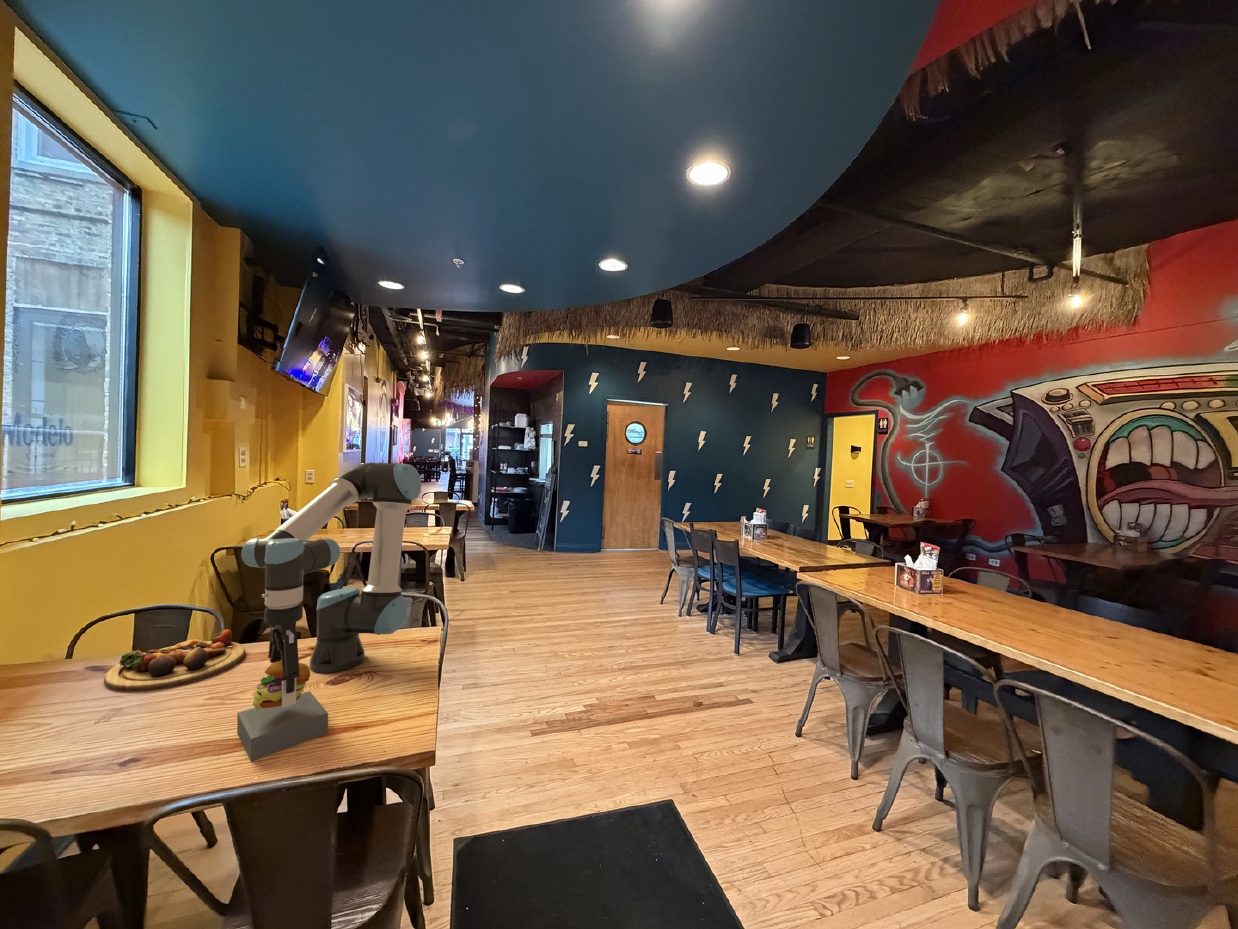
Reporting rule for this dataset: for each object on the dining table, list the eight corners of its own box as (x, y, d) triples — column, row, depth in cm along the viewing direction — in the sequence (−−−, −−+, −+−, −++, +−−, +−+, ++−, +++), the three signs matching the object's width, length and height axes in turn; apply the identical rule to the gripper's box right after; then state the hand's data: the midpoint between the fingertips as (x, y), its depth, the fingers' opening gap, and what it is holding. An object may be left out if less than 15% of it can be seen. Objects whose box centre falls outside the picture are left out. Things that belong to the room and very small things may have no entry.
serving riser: (309, 710, 127) (309, 691, 126) (327, 733, 116) (328, 713, 116) (237, 733, 116) (237, 712, 115) (250, 761, 105) (250, 739, 105)
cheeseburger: (240, 704, 113) (252, 659, 115) (288, 696, 122) (298, 655, 124) (263, 716, 108) (275, 669, 110) (311, 706, 117) (321, 663, 119)
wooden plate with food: (220, 640, 171) (220, 616, 171) (263, 662, 155) (263, 636, 155) (89, 674, 144) (89, 646, 144) (124, 705, 127) (124, 674, 127)
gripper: (254, 597, 120) (253, 686, 121) (277, 620, 105) (275, 721, 105) (289, 591, 126) (288, 676, 126) (316, 612, 110) (315, 709, 111)
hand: (282, 697), depth 116 cm, fingers closed on cheeseburger, 10 cm apart
